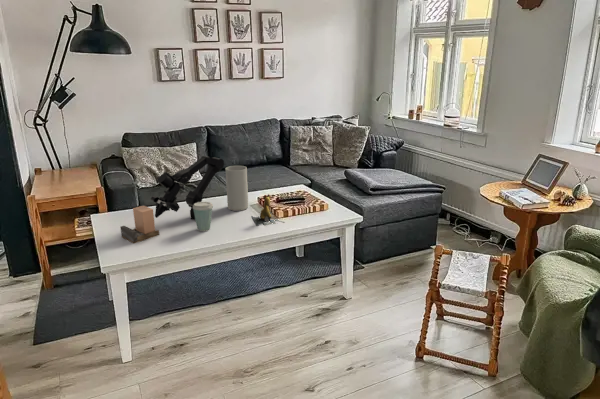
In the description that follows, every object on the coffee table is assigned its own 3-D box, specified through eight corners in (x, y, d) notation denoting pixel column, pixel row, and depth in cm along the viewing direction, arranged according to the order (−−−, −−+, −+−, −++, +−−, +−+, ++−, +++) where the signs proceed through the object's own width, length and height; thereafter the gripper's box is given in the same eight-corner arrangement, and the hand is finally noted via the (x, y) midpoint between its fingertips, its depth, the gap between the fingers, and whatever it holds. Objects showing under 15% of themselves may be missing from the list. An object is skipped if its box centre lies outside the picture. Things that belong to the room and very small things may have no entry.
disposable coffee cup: (192, 227, 245) (190, 201, 240) (212, 224, 249) (210, 198, 244) (196, 234, 236) (194, 207, 231) (216, 231, 240) (214, 204, 235)
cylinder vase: (247, 211, 269) (245, 170, 261) (226, 211, 269) (223, 170, 261) (249, 204, 281) (247, 165, 273) (229, 204, 281) (227, 165, 273)
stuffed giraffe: (256, 226, 246) (256, 198, 242) (250, 216, 263) (250, 190, 259) (285, 224, 251) (285, 196, 247) (277, 214, 268) (277, 188, 263)
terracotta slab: (145, 226, 240) (143, 205, 236) (155, 230, 234) (152, 209, 231) (135, 229, 236) (132, 208, 232) (145, 234, 230) (142, 212, 226)
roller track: (146, 229, 242) (145, 219, 241) (159, 235, 235) (158, 224, 233) (121, 237, 232) (120, 226, 230) (134, 243, 225) (132, 232, 223)
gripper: (191, 203, 243) (176, 228, 238) (171, 196, 254) (156, 220, 250) (178, 193, 235) (161, 218, 230) (158, 186, 246) (142, 210, 242)
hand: (155, 217), depth 238 cm, fingers closed
